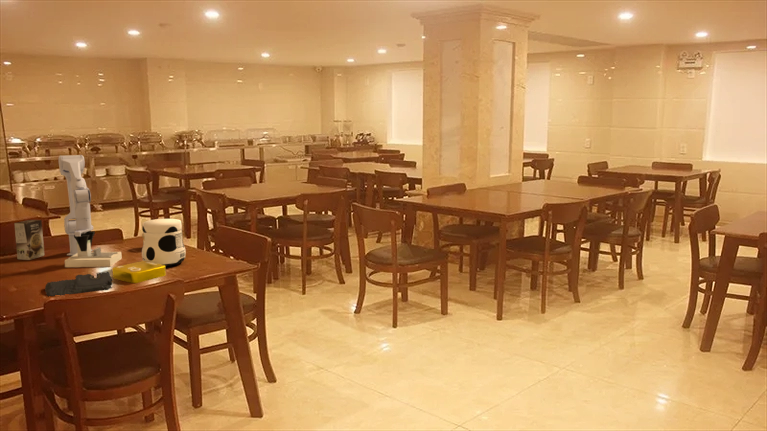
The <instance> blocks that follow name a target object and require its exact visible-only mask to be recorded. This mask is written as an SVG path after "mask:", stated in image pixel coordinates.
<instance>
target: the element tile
mask: <svg viewBox="0 0 767 431" xmlns="http://www.w3.org/2000/svg"><path fill="white" fill-rule="evenodd" d="M111 270H112V279H114V280H116V281H117V280H119V281H123V282H126V283H129V284H140V283H143V282H146V281H151V280H155V279H159V278H162V277H165V276H166V275H167V271H166V266H165V265H161V264H157V263H152V262H147V261H143V260H141V261H136V262H135V261H134V262H132V263H126V264H122V265H119V266H114V267H112V269H111Z"/></svg>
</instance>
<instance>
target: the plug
mask: <svg viewBox="0 0 767 431" xmlns="http://www.w3.org/2000/svg"><path fill="white" fill-rule="evenodd" d="M91 250H92V245H91V243H90V240H88V242H87V251H81V250H80V247H79V245H78V242H77V253H78V257H91V256H92V255H91V252H92V251H91Z"/></svg>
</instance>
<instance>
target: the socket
mask: <svg viewBox="0 0 767 431" xmlns="http://www.w3.org/2000/svg"><path fill="white" fill-rule="evenodd" d="M105 252H106V251H101V253H105ZM113 252H114V254H113V255H112V256H102V257H93V256H94V254H93V251H91V255H92V256H91V257H78V253H77V254H75V255H70V256H69V257H68V258H66V259H64V268H94V267H95V268H98V267H99V268H101V267H103V268H104V267H105V268H107V267H108V268H109V267H112V266H113V265H115V264H116V263H118V262H119V261H120V260H122V257H123V256H122V251H113Z"/></svg>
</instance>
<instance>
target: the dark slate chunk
mask: <svg viewBox="0 0 767 431" xmlns="http://www.w3.org/2000/svg"><path fill="white" fill-rule="evenodd" d="M113 279H114V278H113V276H112V277H111V273H110V271H106V272H104V271H103V272H97V273H96V277H95V276H94V275H92V274H91V273H87V274H86V273H85V274H77V275H75V279H74V278H73V279H65V280H63V279H62V280H57V281H49V282H47V283H46V284H45V287H44V291H45V294H46V296H48V297H49V296H51V297H56V296H55V295H60V296H66V295H65V294H69V295H76V294H85V293H93V292H100V291H108V290H109V289H112V288H113V287H112V285H113Z"/></svg>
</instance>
